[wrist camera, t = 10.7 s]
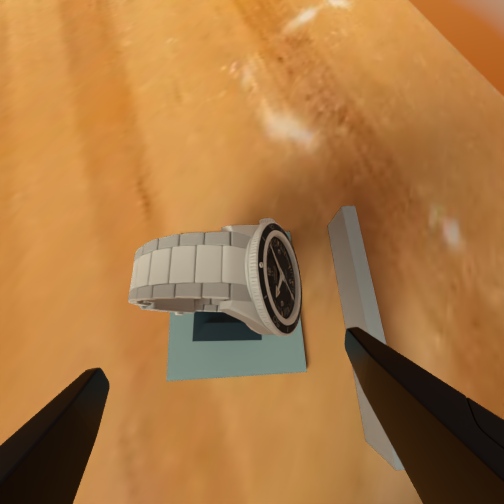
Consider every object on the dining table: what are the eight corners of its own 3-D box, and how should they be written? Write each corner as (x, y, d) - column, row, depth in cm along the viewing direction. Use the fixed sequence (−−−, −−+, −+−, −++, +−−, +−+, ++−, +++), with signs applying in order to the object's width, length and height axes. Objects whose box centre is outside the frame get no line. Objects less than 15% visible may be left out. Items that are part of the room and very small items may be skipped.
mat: (305, 370, 17) (306, 371, 17) (168, 380, 17) (166, 381, 17) (289, 233, 21) (289, 231, 20) (175, 239, 20) (174, 237, 20)
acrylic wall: (380, 440, 16) (414, 469, 13) (365, 441, 16) (396, 470, 13) (338, 225, 21) (354, 205, 18) (327, 226, 21) (341, 206, 18)
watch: (286, 338, 18) (338, 347, 7) (178, 340, 17) (71, 353, 7) (281, 265, 19) (318, 189, 9) (184, 267, 19) (105, 191, 9)
